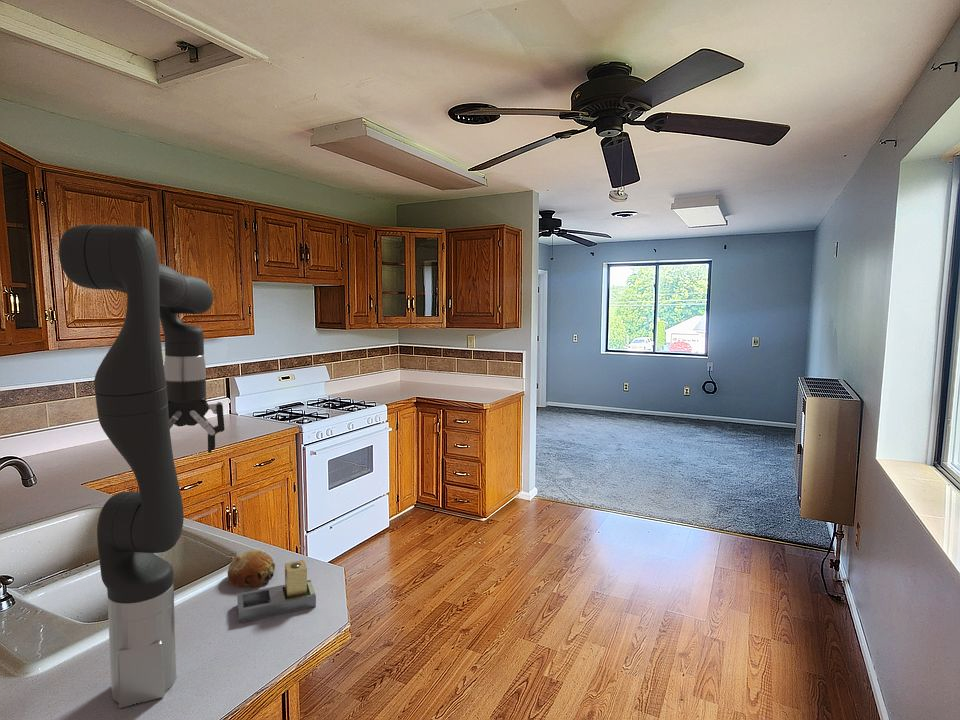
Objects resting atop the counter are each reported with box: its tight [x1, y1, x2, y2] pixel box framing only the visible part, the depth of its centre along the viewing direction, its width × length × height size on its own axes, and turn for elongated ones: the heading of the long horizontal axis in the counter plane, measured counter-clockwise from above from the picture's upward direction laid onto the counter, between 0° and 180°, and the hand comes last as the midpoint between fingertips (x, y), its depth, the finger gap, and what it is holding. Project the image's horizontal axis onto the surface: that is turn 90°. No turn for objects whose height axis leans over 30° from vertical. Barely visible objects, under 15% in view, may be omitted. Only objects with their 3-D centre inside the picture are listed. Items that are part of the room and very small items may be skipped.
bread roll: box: [227, 549, 276, 589], centre depth 126 cm, size 10×10×8 cm
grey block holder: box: [236, 579, 317, 624], centre depth 115 cm, size 7×15×2 cm, turn 116°
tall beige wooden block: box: [284, 559, 308, 600], centre depth 116 cm, size 4×4×8 cm
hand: (187, 453), depth 113 cm, fingers open, 8 cm apart
